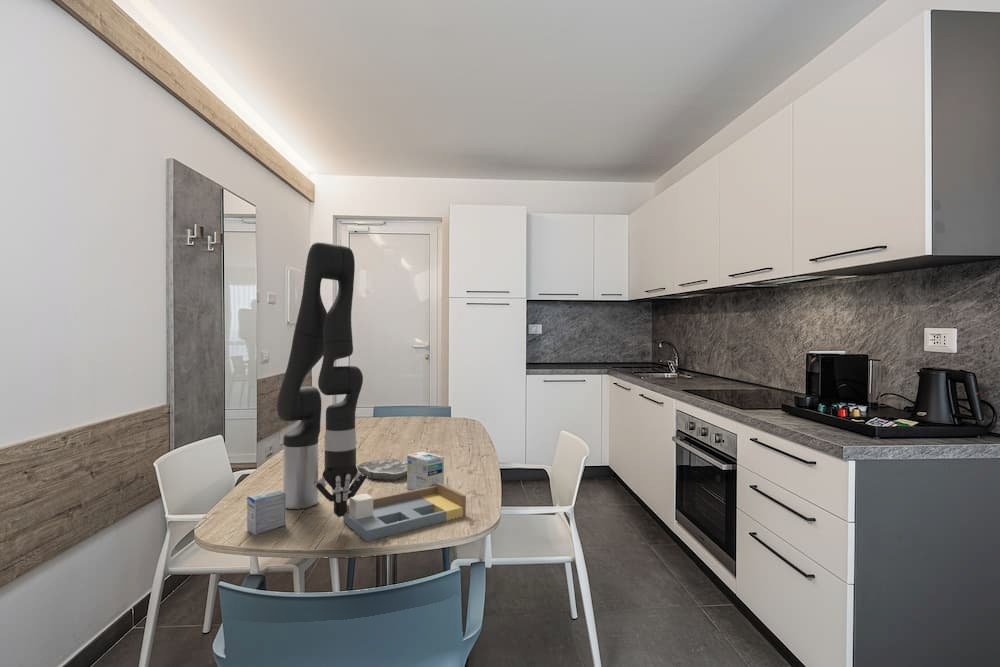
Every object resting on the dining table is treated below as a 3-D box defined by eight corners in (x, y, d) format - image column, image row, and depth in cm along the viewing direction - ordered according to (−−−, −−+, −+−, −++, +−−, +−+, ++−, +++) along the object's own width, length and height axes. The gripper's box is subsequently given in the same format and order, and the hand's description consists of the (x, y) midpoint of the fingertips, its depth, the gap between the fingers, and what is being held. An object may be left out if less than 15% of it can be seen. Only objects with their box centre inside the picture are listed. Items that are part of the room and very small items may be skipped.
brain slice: (425, 472, 180) (425, 463, 180) (394, 485, 165) (394, 476, 165) (382, 464, 189) (382, 456, 189) (348, 476, 174) (348, 467, 174)
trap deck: (343, 521, 133) (343, 500, 133) (437, 500, 150) (437, 481, 150) (366, 541, 121) (366, 518, 121) (465, 515, 138) (465, 495, 138)
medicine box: (277, 521, 133) (277, 488, 133) (286, 526, 130) (286, 492, 130) (246, 530, 127) (246, 496, 127) (254, 535, 124) (255, 500, 124)
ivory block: (349, 514, 132) (349, 496, 132) (366, 510, 135) (366, 493, 135) (356, 519, 128) (356, 501, 128) (373, 515, 131) (373, 498, 131)
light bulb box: (444, 491, 159) (444, 456, 159) (427, 496, 154) (427, 460, 154) (422, 483, 166) (423, 450, 166) (405, 488, 161) (406, 454, 161)
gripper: (360, 440, 135) (360, 506, 135) (308, 447, 127) (308, 516, 127) (371, 445, 129) (371, 514, 129) (318, 453, 121) (318, 526, 121)
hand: (340, 515), depth 128 cm, fingers closed
